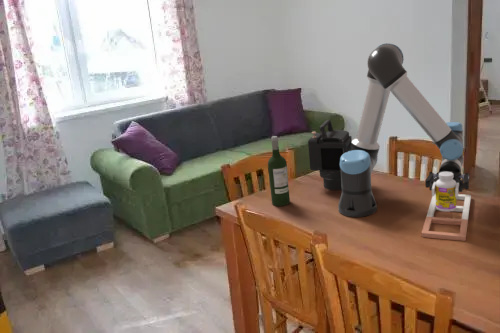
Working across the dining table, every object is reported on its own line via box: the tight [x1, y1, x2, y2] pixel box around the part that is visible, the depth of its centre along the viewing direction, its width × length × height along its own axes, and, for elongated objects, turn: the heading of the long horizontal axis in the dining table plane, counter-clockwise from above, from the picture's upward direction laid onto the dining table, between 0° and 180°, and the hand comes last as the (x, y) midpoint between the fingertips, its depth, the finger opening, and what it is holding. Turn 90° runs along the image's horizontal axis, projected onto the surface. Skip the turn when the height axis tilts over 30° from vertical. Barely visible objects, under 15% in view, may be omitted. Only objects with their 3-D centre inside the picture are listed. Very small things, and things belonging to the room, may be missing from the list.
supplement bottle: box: [435, 172, 457, 212], centre depth 167 cm, size 7×7×13 cm
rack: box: [421, 192, 472, 242], centre depth 181 cm, size 38×14×2 cm, turn 154°
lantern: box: [307, 119, 353, 191], centre depth 222 cm, size 15×18×30 cm
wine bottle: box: [267, 135, 291, 207], centre depth 208 cm, size 8×8×30 cm
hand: (444, 192), depth 162 cm, fingers closed on supplement bottle, 7 cm apart
